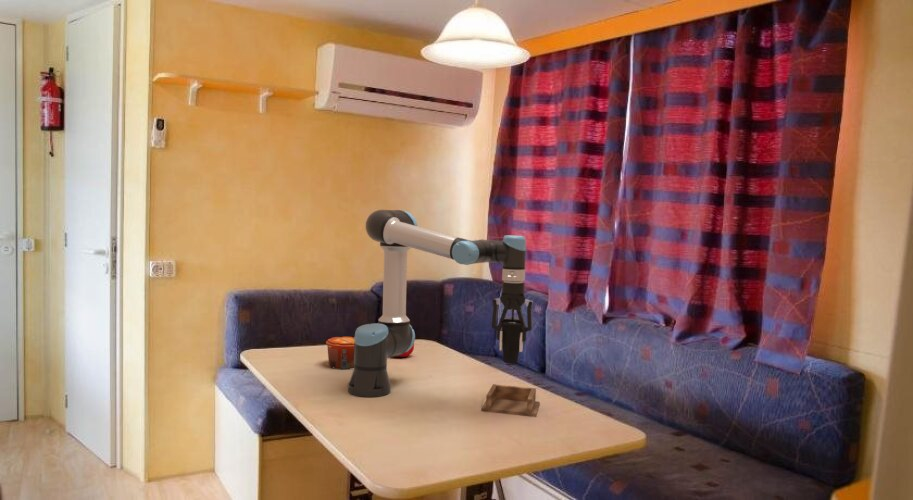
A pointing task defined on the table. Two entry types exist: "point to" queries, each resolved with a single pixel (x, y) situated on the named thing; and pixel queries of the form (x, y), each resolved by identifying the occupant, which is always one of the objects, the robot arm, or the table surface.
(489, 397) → the u rest
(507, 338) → the drinking cup
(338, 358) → the food container
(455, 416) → the table surface
